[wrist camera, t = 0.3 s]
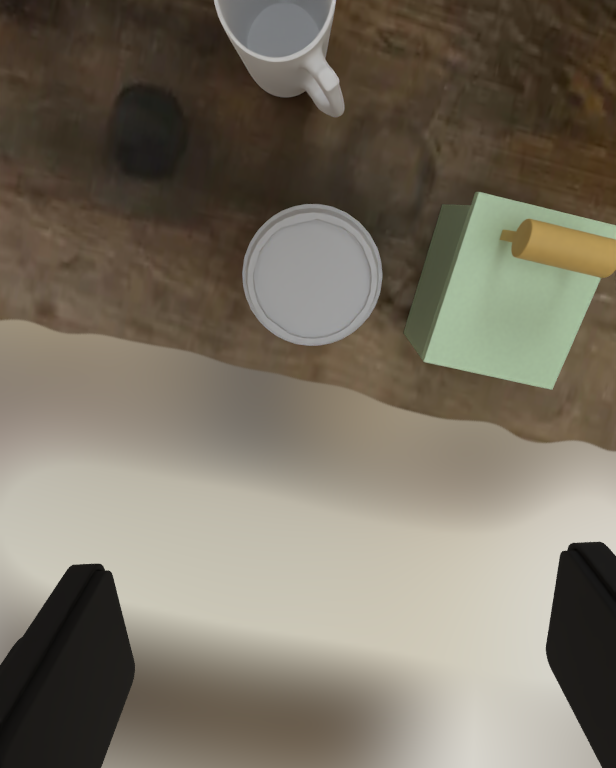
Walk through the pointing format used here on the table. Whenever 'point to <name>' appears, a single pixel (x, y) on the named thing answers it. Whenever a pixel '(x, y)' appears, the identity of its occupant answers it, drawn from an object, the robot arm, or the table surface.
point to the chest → (435, 274)
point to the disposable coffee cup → (312, 274)
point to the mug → (285, 47)
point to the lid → (518, 290)
